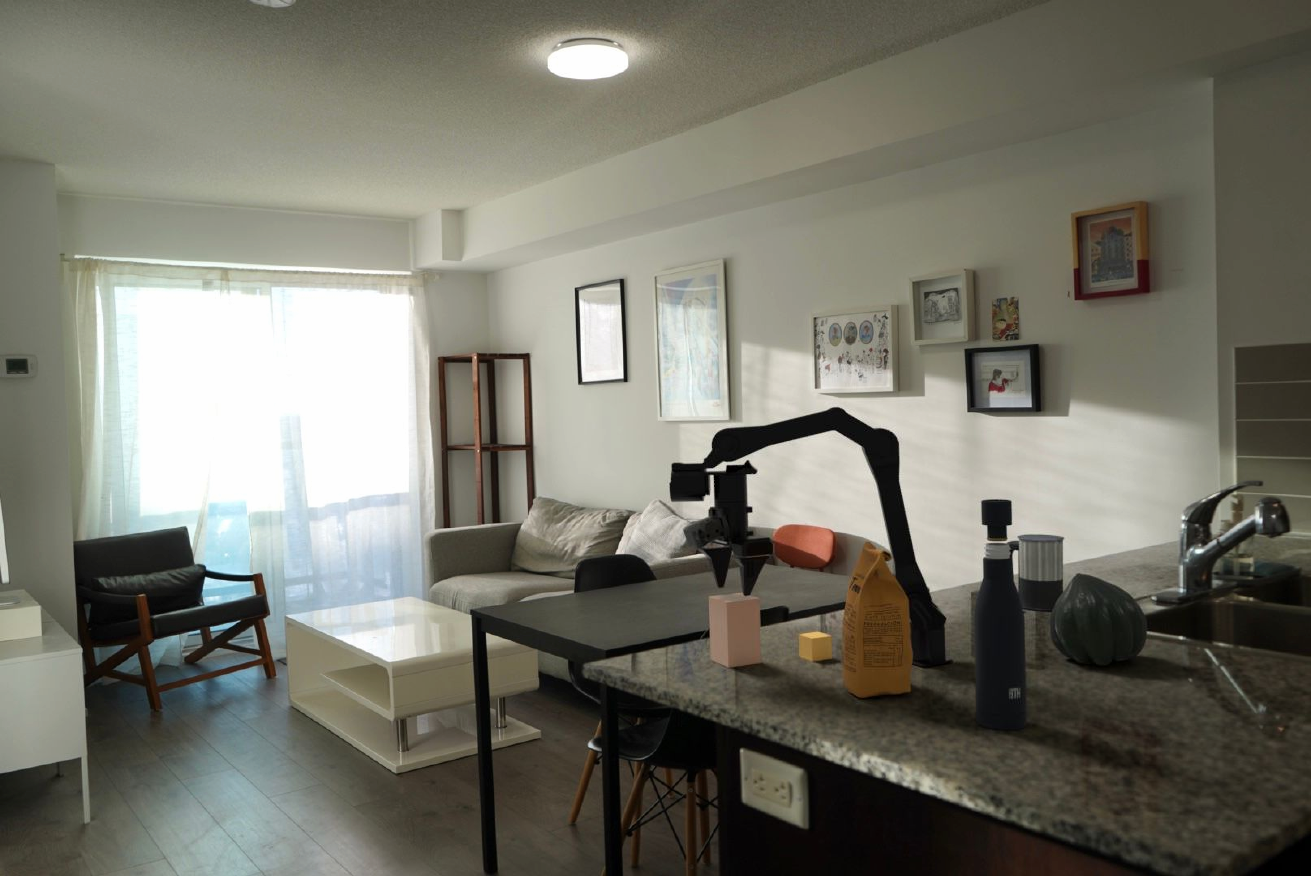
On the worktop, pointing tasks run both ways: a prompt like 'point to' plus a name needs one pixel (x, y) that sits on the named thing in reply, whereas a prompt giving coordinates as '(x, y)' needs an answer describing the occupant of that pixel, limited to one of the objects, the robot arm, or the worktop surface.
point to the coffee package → (876, 629)
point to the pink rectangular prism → (734, 613)
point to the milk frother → (1039, 570)
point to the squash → (1097, 622)
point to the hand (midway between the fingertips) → (733, 591)
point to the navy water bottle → (999, 630)
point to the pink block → (735, 648)
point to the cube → (815, 646)
